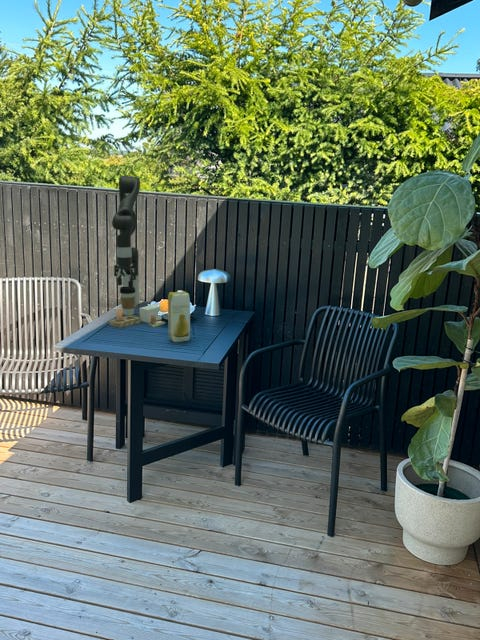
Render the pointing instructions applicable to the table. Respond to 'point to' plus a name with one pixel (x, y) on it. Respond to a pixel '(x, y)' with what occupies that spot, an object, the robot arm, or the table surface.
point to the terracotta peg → (119, 315)
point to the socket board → (125, 321)
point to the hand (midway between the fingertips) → (125, 286)
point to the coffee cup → (127, 300)
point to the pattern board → (153, 321)
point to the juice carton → (179, 316)
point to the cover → (149, 313)
